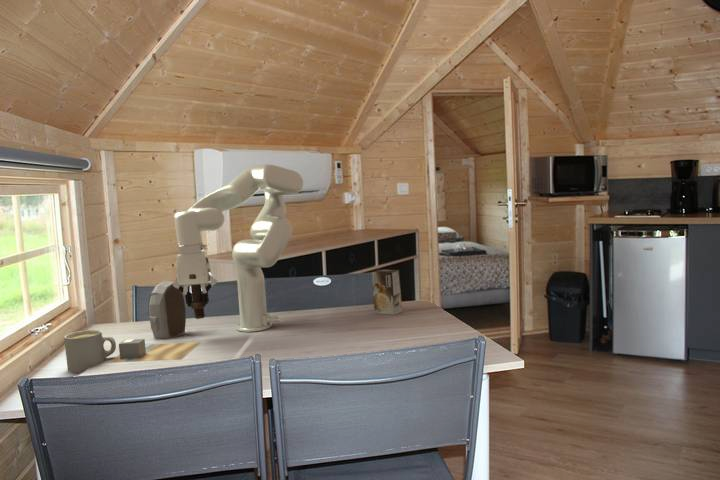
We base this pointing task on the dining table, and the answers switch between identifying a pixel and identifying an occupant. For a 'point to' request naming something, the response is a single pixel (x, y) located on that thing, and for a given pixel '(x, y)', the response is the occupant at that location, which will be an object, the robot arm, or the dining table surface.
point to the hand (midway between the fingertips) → (197, 304)
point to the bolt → (197, 299)
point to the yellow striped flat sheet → (162, 352)
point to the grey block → (132, 348)
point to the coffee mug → (86, 349)
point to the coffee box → (387, 292)
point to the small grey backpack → (167, 311)
